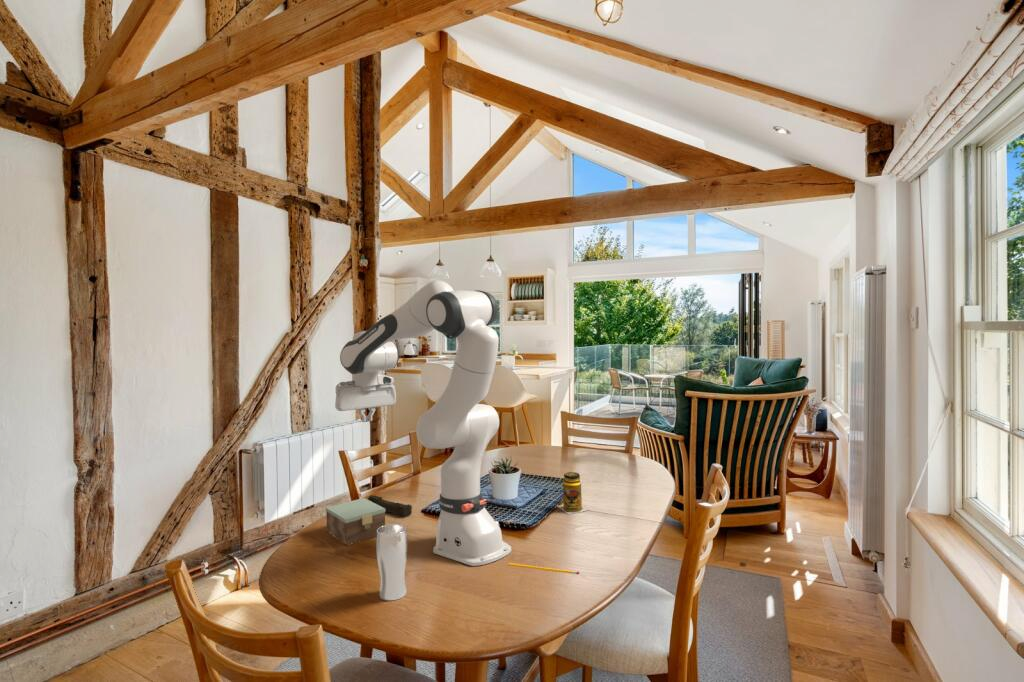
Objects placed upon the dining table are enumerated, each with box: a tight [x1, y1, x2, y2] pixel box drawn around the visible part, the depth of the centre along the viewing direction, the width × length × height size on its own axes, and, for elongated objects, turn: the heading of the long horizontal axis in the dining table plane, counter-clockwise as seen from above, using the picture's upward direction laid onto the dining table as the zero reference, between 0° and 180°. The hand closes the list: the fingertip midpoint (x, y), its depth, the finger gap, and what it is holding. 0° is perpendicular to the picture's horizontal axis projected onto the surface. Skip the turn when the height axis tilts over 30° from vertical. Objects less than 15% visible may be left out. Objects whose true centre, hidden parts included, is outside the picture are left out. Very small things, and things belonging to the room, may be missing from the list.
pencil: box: [507, 562, 580, 575], centre depth 126 cm, size 1×18×1 cm, turn 72°
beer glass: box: [375, 523, 408, 602], centre depth 115 cm, size 7×7×15 cm
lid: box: [325, 497, 386, 525], centre depth 151 cm, size 15×12×3 cm
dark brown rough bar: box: [367, 495, 413, 518], centre depth 169 cm, size 19×4×5 cm, turn 57°
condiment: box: [556, 471, 587, 515], centre depth 168 cm, size 7×8×12 cm
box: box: [325, 510, 386, 546], centre depth 151 cm, size 15×12×6 cm
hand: (367, 421), depth 166 cm, fingers closed
